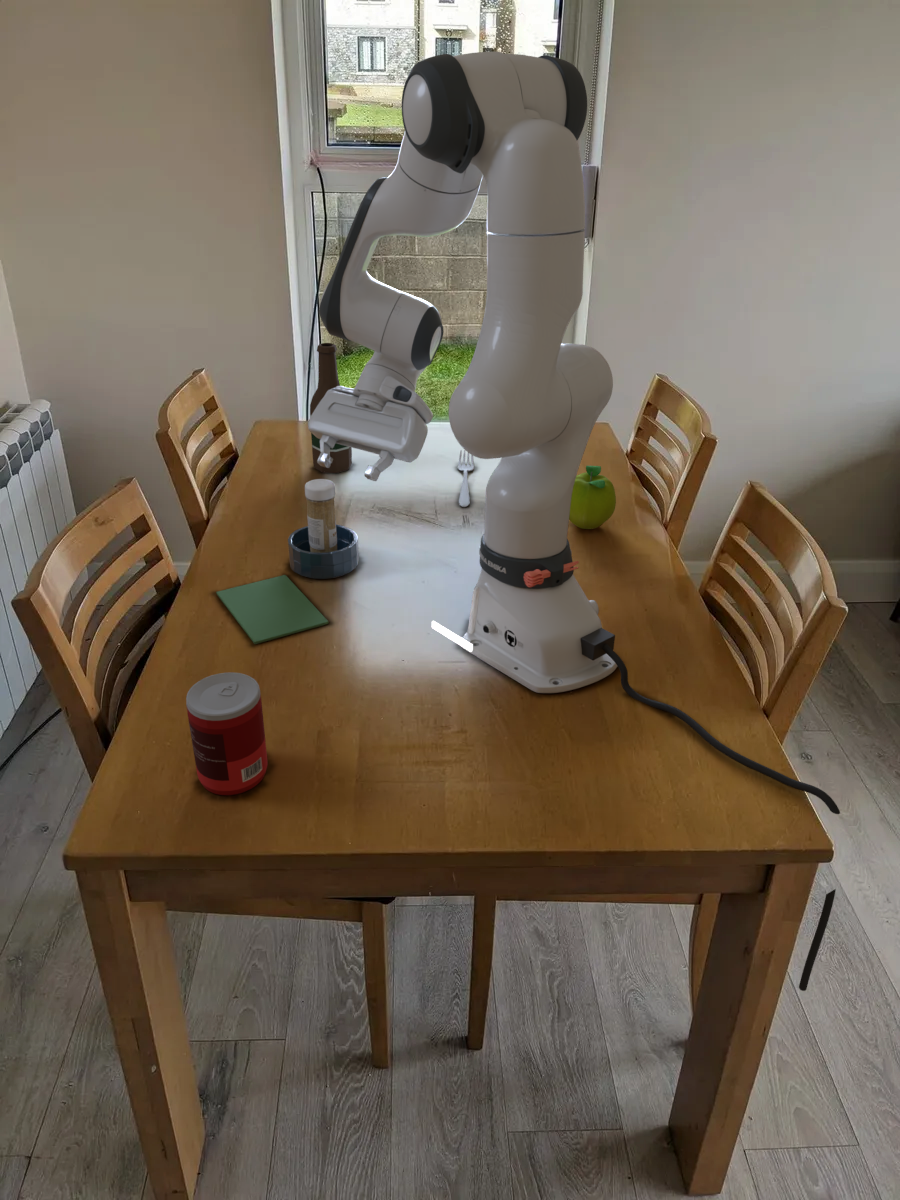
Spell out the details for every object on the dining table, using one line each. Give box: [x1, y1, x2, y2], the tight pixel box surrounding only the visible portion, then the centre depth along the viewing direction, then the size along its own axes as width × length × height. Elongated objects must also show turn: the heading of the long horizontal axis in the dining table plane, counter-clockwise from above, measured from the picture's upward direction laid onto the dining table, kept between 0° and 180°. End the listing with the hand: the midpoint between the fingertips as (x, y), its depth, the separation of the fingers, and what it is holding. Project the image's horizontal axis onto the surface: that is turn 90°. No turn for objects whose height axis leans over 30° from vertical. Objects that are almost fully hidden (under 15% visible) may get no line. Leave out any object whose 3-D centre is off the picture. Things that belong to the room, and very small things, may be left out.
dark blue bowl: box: [287, 524, 360, 580], centre depth 145 cm, size 11×11×4 cm
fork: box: [457, 449, 475, 508], centre depth 176 cm, size 3×24×2 cm, turn 178°
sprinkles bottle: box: [304, 478, 337, 553], centre depth 143 cm, size 5×5×13 cm
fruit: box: [569, 465, 617, 530], centre depth 158 cm, size 9×9×10 cm
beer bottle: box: [309, 342, 353, 474], centre depth 176 cm, size 8×8×24 cm
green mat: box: [215, 574, 329, 645], centre depth 134 cm, size 16×11×1 cm
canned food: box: [185, 672, 269, 796], centre depth 100 cm, size 8×8×11 cm
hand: (345, 472), depth 144 cm, fingers open, 8 cm apart
